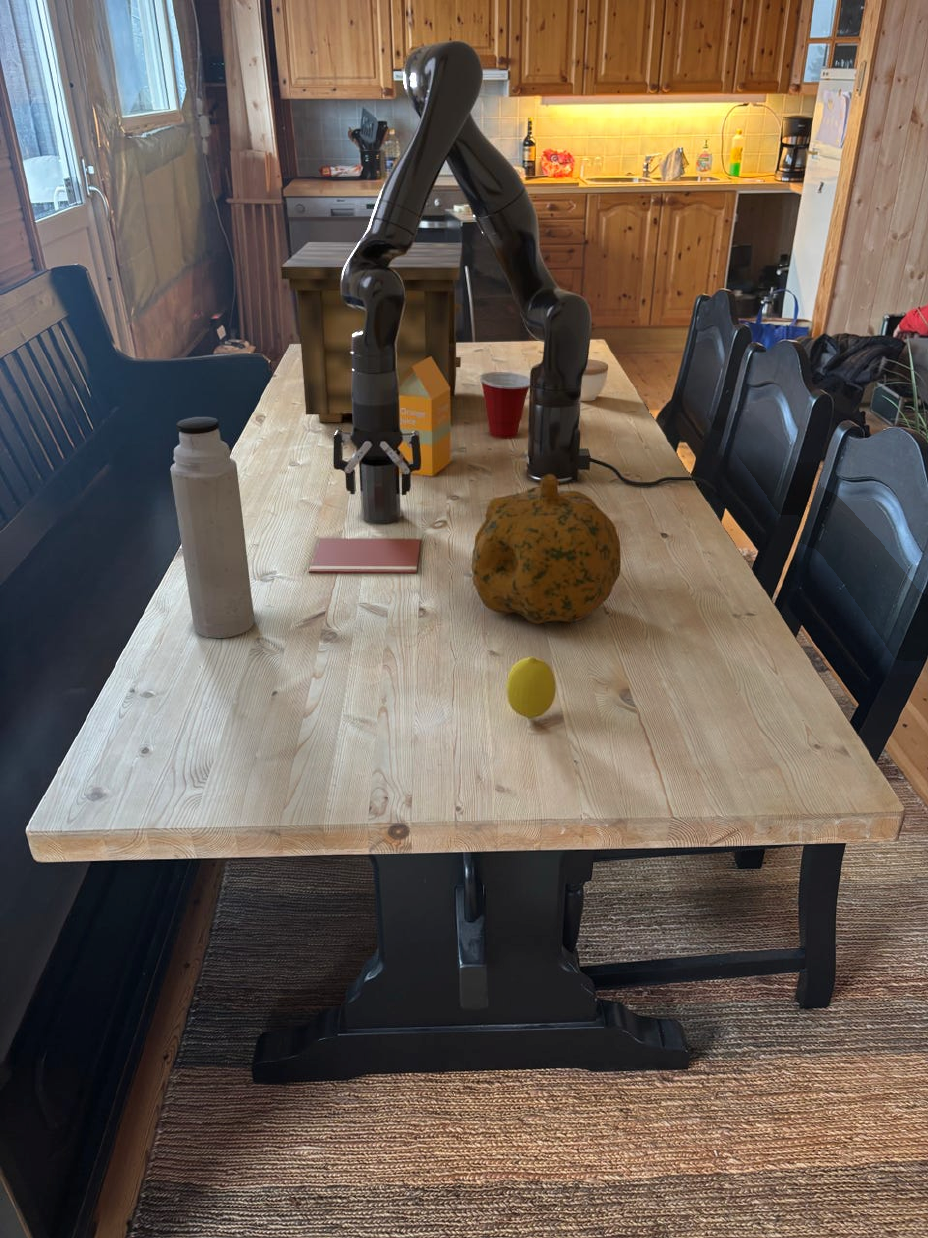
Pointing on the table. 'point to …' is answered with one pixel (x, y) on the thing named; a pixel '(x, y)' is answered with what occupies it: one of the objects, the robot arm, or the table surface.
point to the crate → (335, 322)
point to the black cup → (380, 491)
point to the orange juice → (426, 415)
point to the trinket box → (593, 379)
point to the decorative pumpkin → (545, 554)
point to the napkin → (366, 556)
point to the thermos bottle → (211, 530)
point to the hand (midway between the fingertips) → (378, 493)
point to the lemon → (531, 687)
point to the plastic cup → (504, 401)
